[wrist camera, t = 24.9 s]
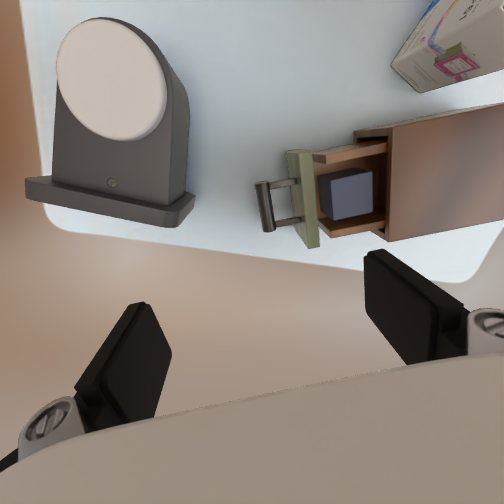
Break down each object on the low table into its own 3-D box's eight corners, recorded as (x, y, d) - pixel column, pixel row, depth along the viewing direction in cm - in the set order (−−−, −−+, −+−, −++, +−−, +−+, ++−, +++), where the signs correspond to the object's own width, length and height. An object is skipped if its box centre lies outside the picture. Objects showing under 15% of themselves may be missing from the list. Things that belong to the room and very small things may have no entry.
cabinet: (355, 221, 31) (388, 242, 24) (353, 131, 27) (393, 126, 20) (445, 203, 31) (503, 219, 24) (457, 109, 27) (532, 97, 20)
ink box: (452, -34, 22) (663, -206, 11) (486, 6, 23) (705, -114, 12) (386, 65, 25) (505, 3, 14) (420, 96, 26) (553, 61, 15)
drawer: (262, 237, 30) (268, 257, 25) (248, 159, 27) (251, 163, 21) (379, 214, 30) (410, 229, 25) (381, 131, 26) (417, 128, 21)
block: (317, 175, 27) (330, 180, 23) (353, 167, 27) (372, 170, 23) (320, 211, 28) (333, 220, 25) (355, 203, 28) (373, 211, 25)
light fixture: (215, 86, 25) (204, 35, 15) (194, 211, 29) (174, 239, 19) (101, 51, 23) (0, -33, 13) (96, 190, 28) (17, 208, 17)
